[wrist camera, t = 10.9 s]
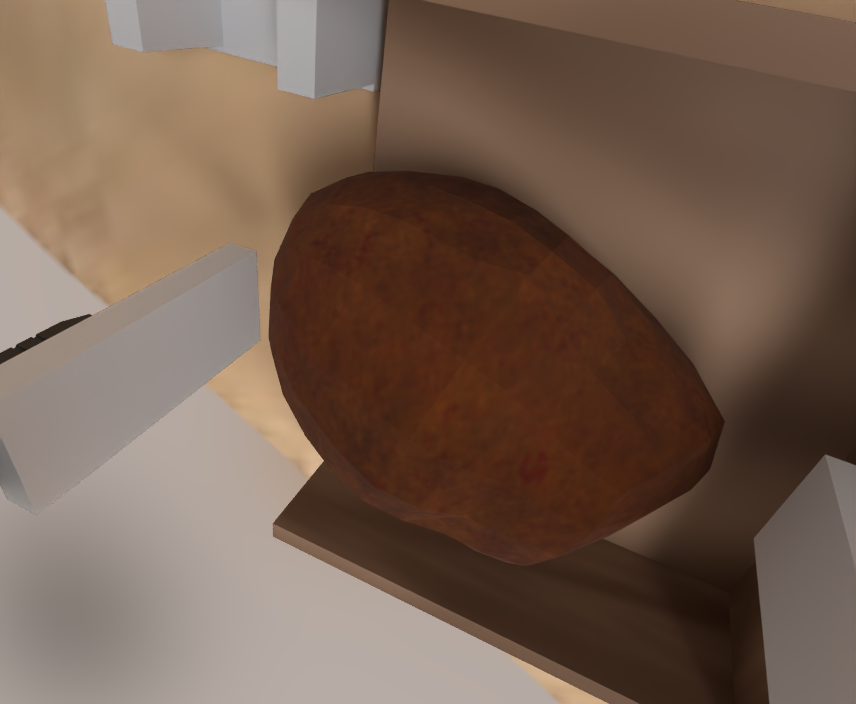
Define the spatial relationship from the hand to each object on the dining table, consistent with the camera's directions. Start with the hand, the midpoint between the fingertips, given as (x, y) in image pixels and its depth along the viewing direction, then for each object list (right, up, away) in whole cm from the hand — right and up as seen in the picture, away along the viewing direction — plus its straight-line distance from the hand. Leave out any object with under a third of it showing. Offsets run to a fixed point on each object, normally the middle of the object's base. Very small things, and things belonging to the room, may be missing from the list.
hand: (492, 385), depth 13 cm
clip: (-5, +10, +3) cm, 12 cm away
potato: (+1, +2, +4) cm, 4 cm away
